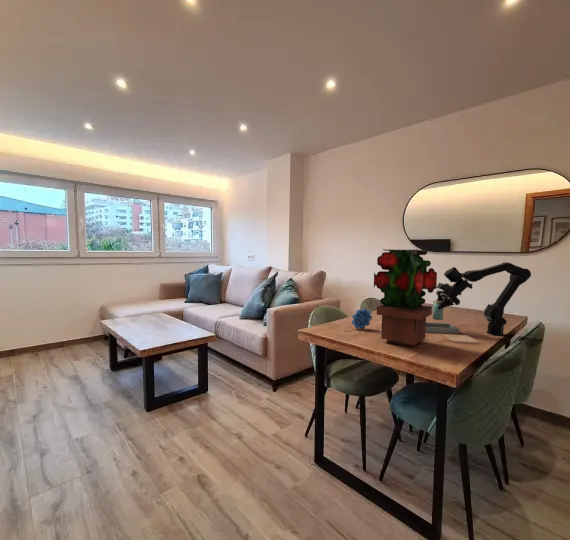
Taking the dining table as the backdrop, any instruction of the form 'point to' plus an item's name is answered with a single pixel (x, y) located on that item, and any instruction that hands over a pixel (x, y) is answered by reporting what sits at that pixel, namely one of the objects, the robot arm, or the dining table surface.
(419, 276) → the potted plant
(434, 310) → the jar
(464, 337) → the tile
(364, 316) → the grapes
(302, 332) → the dining table surface
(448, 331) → the grey tray
